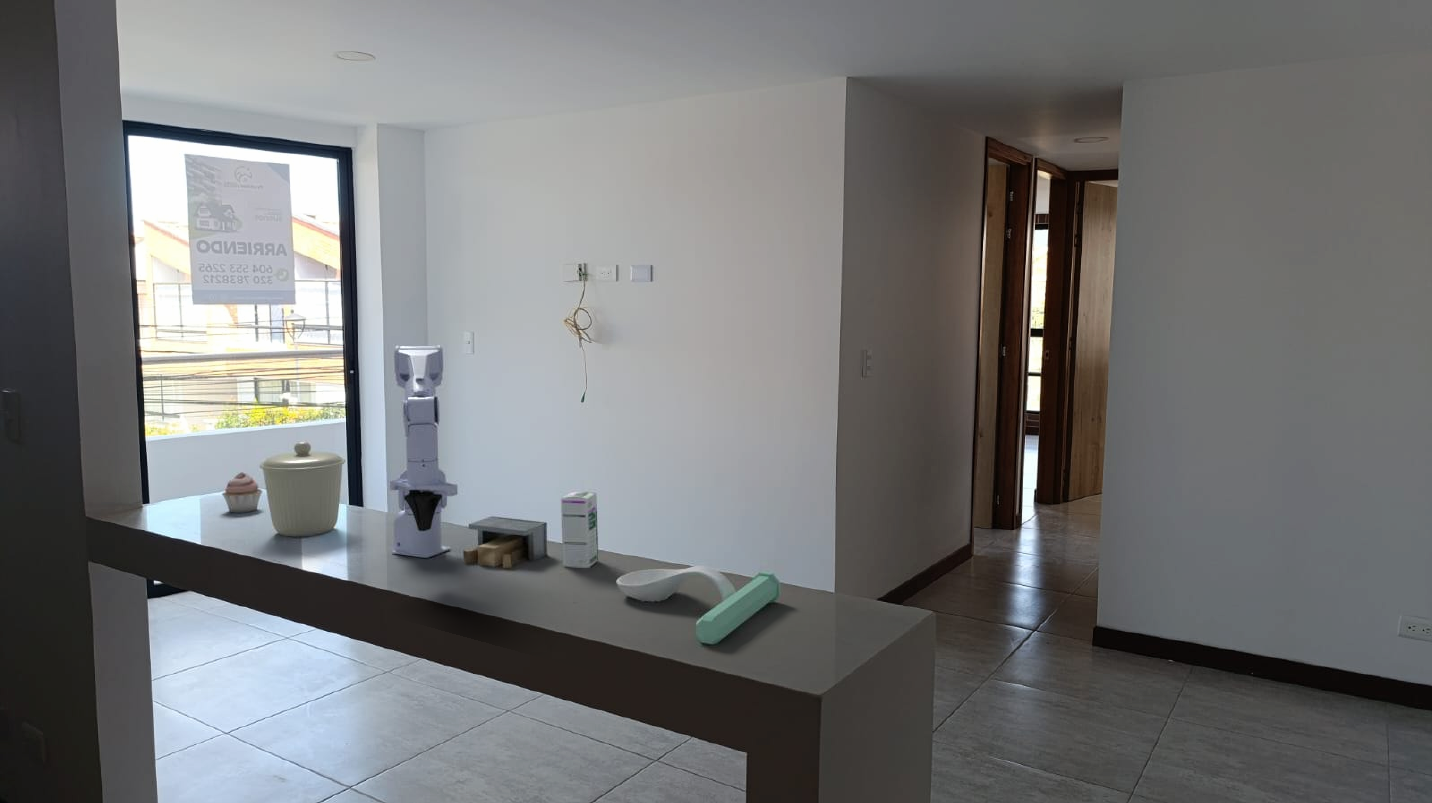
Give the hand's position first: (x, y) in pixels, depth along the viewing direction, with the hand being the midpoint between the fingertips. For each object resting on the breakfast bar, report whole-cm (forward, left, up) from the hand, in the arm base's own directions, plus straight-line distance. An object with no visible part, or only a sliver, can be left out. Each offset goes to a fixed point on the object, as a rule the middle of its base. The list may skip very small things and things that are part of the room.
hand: (424, 529), depth 180 cm
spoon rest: (+50, +8, -10) cm, 51 cm away
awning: (+4, +19, -10) cm, 22 cm away
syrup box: (+21, +22, -10) cm, 32 cm away
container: (+64, +3, -10) cm, 64 cm away
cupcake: (-83, +29, -10) cm, 88 cm away
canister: (-51, +19, -10) cm, 55 cm away
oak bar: (+4, +18, -10) cm, 21 cm away
